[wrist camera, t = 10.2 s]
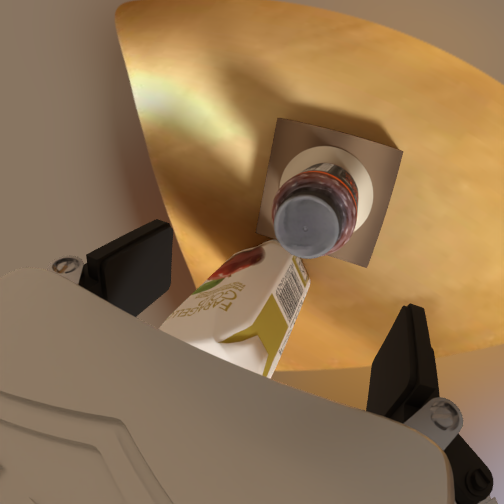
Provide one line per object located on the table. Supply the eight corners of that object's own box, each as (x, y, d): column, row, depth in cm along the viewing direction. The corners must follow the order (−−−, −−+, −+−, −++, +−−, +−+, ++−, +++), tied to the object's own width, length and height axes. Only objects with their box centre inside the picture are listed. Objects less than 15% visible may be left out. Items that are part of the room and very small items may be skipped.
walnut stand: (399, 149, 26) (403, 151, 23) (367, 256, 31) (366, 268, 29) (285, 119, 29) (277, 117, 26) (264, 224, 34) (255, 233, 32)
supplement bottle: (367, 213, 27) (368, 263, 17) (309, 230, 29) (278, 284, 20) (346, 152, 25) (336, 165, 15) (287, 173, 28) (242, 198, 18)
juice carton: (319, 283, 35) (272, 412, 18) (257, 301, 39) (182, 412, 22) (294, 225, 33) (218, 325, 17) (231, 249, 37) (130, 341, 21)
